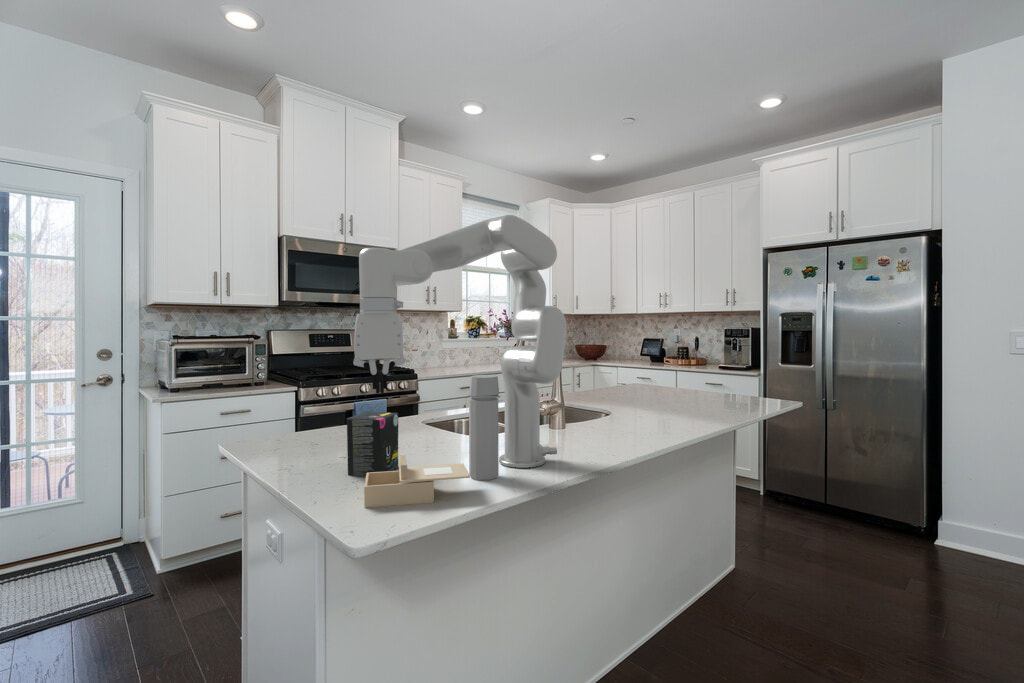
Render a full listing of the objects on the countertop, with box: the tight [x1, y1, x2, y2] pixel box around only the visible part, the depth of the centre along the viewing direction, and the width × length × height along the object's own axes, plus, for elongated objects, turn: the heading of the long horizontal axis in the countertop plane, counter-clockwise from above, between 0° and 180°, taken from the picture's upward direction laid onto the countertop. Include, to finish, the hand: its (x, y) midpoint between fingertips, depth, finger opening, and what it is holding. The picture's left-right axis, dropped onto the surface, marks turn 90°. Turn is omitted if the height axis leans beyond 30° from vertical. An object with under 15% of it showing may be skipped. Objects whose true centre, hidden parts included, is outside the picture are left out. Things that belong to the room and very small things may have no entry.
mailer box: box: [363, 470, 435, 509], centre depth 111 cm, size 14×10×5 cm
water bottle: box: [467, 374, 501, 482], centre depth 126 cm, size 9×8×25 cm
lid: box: [398, 454, 471, 483], centre depth 112 cm, size 15×10×3 cm
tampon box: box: [346, 411, 399, 478], centre depth 131 cm, size 11×9×15 cm
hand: (380, 392), depth 110 cm, fingers closed
